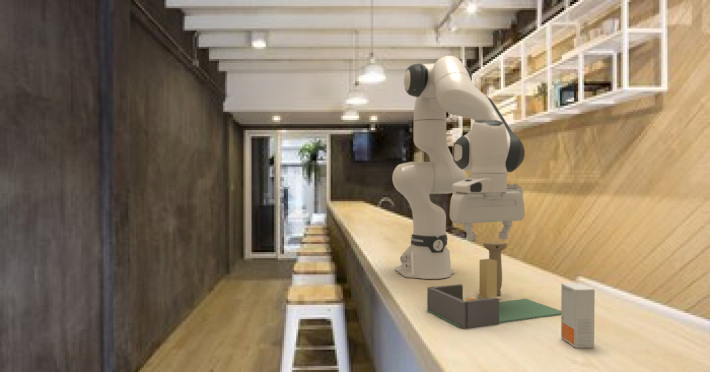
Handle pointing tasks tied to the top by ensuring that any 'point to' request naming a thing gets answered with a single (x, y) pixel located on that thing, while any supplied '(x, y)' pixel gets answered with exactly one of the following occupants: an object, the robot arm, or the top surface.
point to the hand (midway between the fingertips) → (487, 240)
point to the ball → (471, 299)
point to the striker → (488, 279)
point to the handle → (495, 254)
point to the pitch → (517, 311)
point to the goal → (462, 307)
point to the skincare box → (577, 315)
